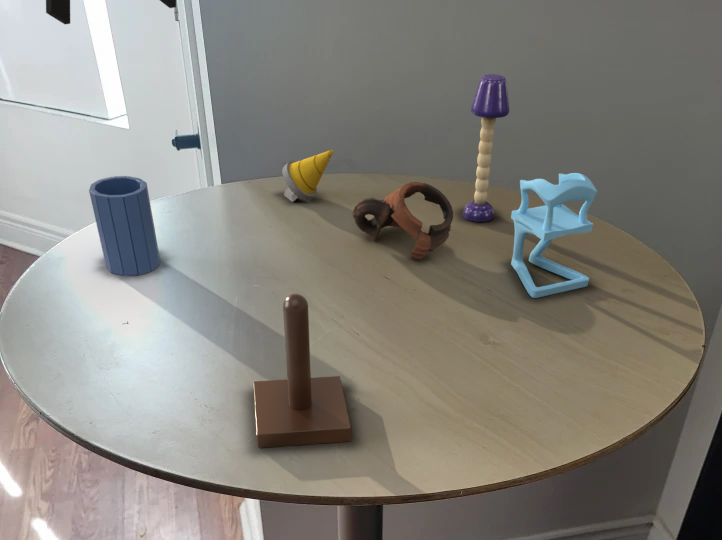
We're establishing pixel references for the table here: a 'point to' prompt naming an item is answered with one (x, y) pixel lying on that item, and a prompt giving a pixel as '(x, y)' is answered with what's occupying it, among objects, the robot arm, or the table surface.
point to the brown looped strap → (405, 217)
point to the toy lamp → (486, 140)
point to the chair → (551, 228)
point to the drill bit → (305, 176)
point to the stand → (299, 393)
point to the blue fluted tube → (125, 225)
